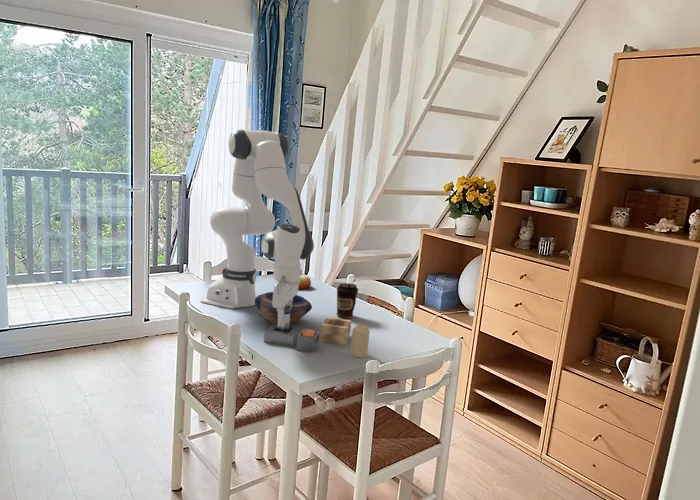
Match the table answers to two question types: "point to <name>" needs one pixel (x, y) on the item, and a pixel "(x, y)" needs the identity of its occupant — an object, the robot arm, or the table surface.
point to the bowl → (270, 313)
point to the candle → (360, 341)
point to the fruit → (304, 282)
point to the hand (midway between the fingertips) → (284, 313)
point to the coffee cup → (346, 299)
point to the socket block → (282, 335)
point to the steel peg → (284, 321)
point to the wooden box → (335, 331)
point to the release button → (308, 333)
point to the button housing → (307, 342)
